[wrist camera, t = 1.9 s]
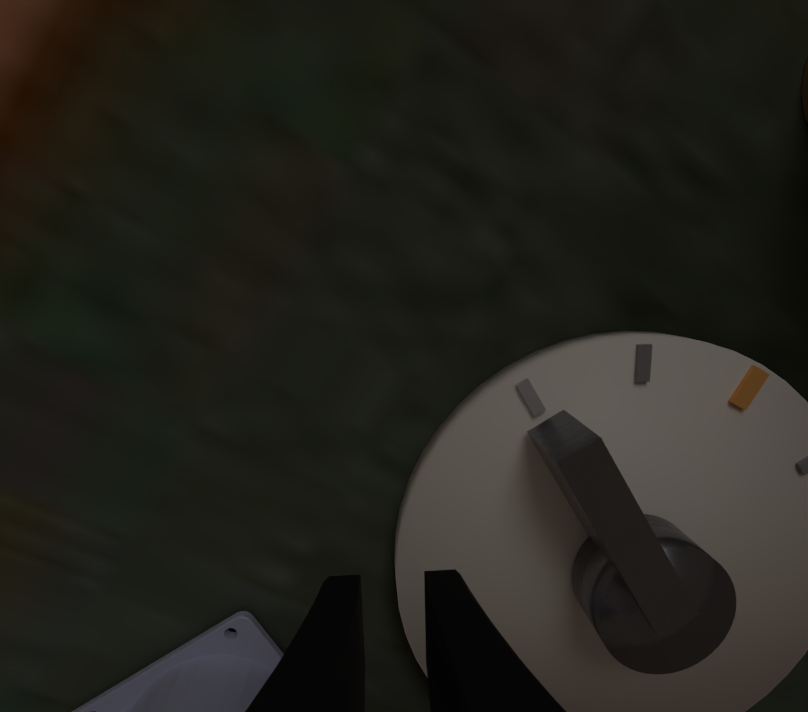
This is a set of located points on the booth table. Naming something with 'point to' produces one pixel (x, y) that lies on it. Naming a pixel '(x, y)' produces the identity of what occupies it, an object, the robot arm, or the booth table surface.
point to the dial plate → (655, 494)
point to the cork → (805, 91)
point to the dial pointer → (634, 561)
